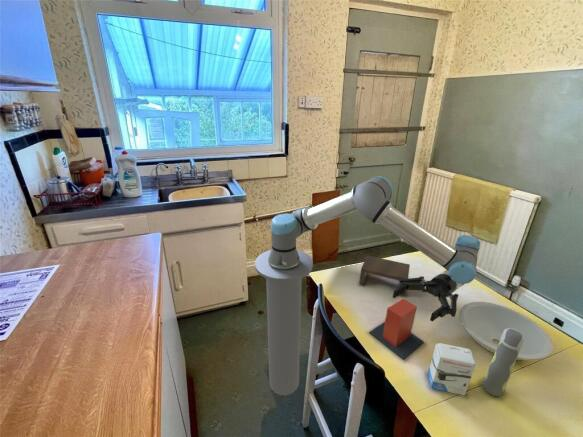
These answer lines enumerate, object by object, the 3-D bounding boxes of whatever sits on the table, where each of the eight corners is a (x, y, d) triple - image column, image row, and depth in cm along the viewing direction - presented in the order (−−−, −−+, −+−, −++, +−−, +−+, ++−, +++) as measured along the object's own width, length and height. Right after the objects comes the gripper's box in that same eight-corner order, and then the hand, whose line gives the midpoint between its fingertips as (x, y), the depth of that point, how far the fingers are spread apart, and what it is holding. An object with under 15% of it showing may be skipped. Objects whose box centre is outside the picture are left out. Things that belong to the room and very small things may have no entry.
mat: (369, 333, 95) (369, 331, 95) (389, 319, 101) (390, 318, 101) (403, 360, 85) (403, 358, 85) (423, 343, 91) (424, 341, 91)
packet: (382, 337, 93) (387, 307, 88) (397, 326, 97) (402, 298, 92) (395, 347, 89) (401, 317, 84) (410, 336, 93) (417, 306, 89)
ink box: (430, 389, 77) (439, 357, 72) (427, 373, 81) (435, 342, 77) (465, 396, 75) (477, 364, 70) (460, 379, 79) (470, 348, 75)
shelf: (359, 284, 120) (361, 268, 117) (364, 270, 130) (366, 255, 127) (404, 296, 113) (408, 279, 110) (406, 280, 123) (409, 264, 120)
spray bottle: (505, 389, 77) (529, 332, 69) (500, 401, 74) (525, 343, 66) (484, 377, 80) (505, 321, 72) (479, 388, 77) (500, 331, 69)
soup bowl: (448, 310, 105) (452, 296, 103) (523, 324, 99) (529, 309, 97) (465, 364, 84) (470, 347, 82) (562, 385, 78) (571, 368, 76)
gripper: (480, 310, 96) (447, 338, 85) (413, 275, 115) (379, 294, 103) (486, 292, 93) (453, 318, 82) (416, 259, 112) (381, 277, 100)
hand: (411, 305), depth 92 cm, fingers open, 13 cm apart
